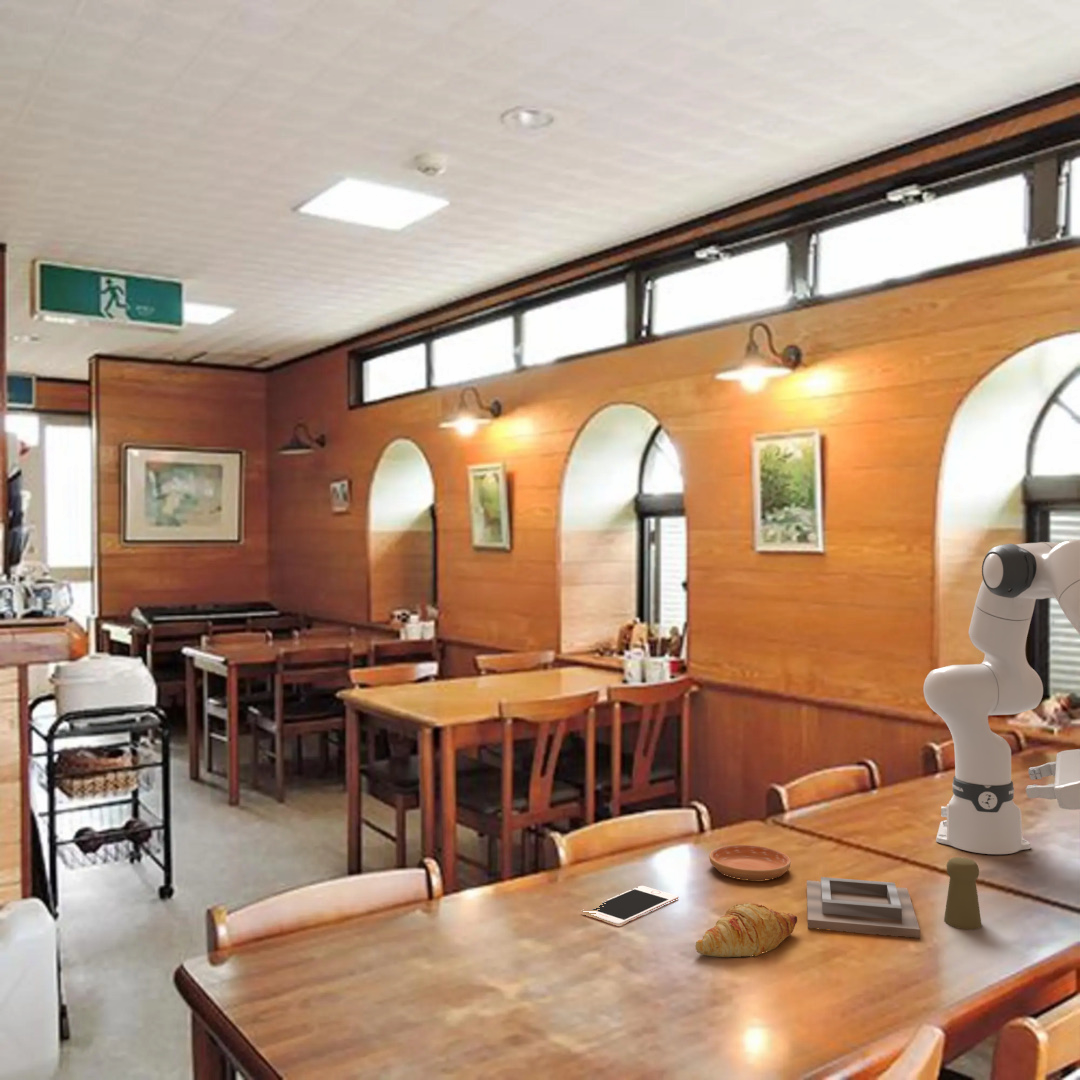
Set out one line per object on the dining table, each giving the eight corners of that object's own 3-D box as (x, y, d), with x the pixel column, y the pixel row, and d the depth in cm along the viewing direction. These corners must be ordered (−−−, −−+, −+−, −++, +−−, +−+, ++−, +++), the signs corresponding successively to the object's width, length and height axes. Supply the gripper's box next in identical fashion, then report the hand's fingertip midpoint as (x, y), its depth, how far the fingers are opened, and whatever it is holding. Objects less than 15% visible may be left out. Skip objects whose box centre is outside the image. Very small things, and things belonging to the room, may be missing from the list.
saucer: (797, 864, 206) (797, 850, 206) (781, 890, 192) (781, 874, 192) (720, 854, 213) (720, 840, 213) (699, 878, 198) (699, 863, 198)
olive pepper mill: (985, 930, 171) (985, 866, 171) (947, 928, 172) (947, 863, 172) (977, 917, 177) (977, 854, 177) (941, 914, 178) (940, 852, 178)
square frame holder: (806, 888, 192) (806, 869, 192) (907, 896, 187) (907, 877, 187) (807, 928, 173) (807, 907, 172) (919, 938, 168) (919, 917, 168)
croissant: (709, 988, 158) (724, 951, 155) (672, 938, 166) (686, 903, 162) (806, 955, 169) (822, 920, 166) (767, 910, 177) (782, 876, 173)
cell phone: (679, 901, 187) (679, 896, 187) (618, 929, 173) (618, 923, 173) (641, 889, 193) (641, 884, 193) (579, 916, 180) (579, 910, 180)
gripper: (1111, 735, 174) (1025, 746, 181) (1115, 773, 156) (1019, 784, 163) (1121, 770, 174) (1035, 780, 181) (1126, 812, 156) (1030, 822, 163)
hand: (1027, 782), depth 172 cm, fingers open, 8 cm apart
